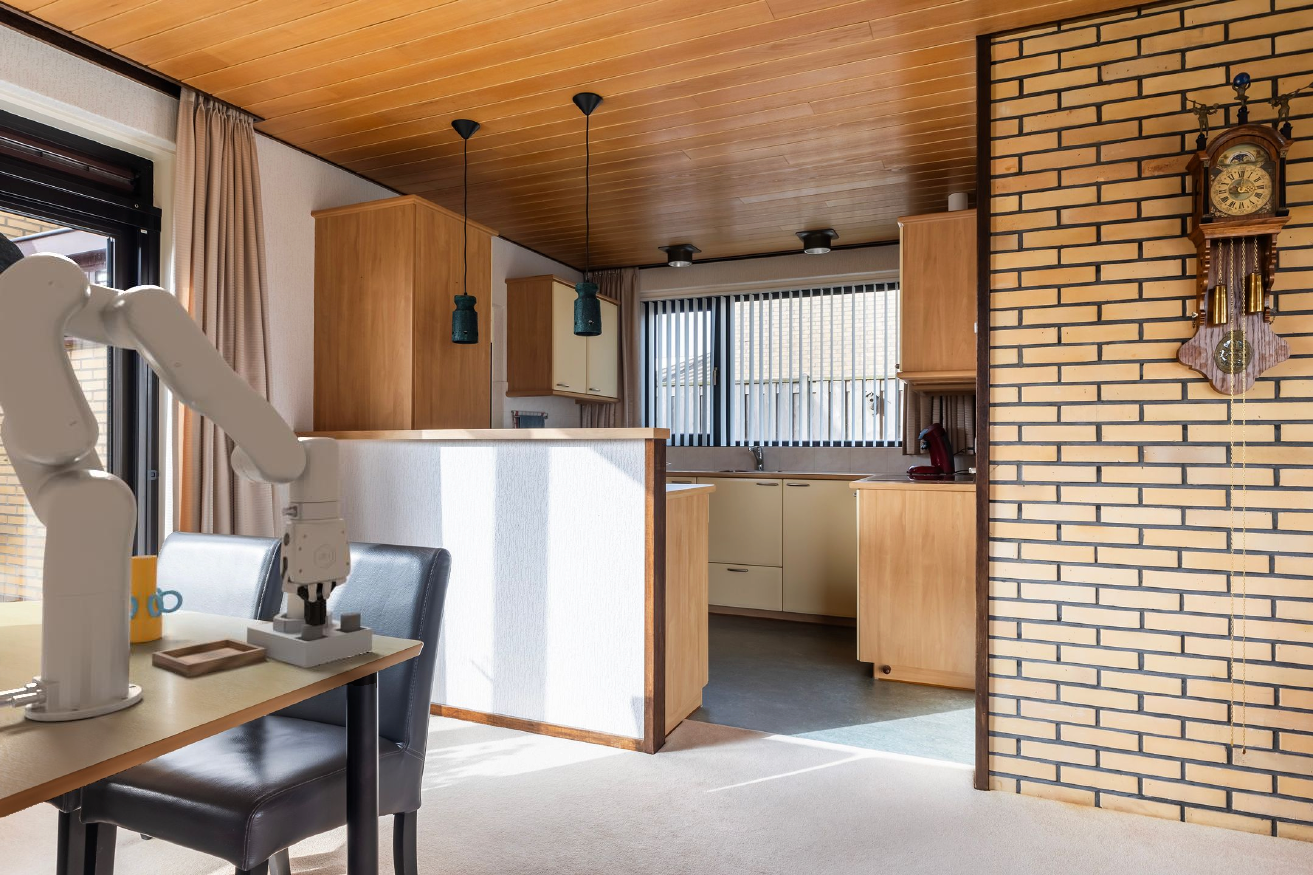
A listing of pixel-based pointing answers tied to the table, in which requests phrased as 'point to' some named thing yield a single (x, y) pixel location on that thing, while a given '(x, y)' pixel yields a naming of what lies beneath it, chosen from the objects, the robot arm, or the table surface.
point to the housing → (289, 647)
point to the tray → (208, 656)
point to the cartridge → (295, 606)
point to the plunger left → (311, 632)
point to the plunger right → (350, 622)
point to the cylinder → (147, 600)
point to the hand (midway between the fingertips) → (315, 623)
